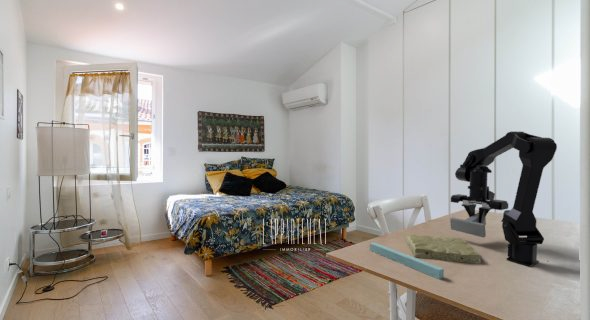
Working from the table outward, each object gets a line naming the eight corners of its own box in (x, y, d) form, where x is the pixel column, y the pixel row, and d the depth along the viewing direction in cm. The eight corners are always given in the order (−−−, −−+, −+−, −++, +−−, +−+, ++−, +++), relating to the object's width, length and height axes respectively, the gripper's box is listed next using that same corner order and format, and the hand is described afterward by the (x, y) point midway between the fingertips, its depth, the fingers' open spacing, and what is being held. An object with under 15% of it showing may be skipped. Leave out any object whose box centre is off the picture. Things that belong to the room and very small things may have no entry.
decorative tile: (405, 241, 114) (405, 232, 114) (462, 246, 110) (462, 236, 110) (414, 260, 96) (414, 249, 96) (482, 265, 91) (483, 254, 91)
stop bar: (443, 277, 82) (443, 268, 82) (439, 279, 81) (439, 270, 81) (373, 249, 104) (374, 242, 104) (369, 250, 103) (369, 243, 103)
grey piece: (499, 227, 111) (498, 215, 111) (483, 237, 106) (482, 225, 105) (467, 220, 122) (466, 210, 121) (451, 229, 116) (450, 218, 115)
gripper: (516, 185, 110) (514, 226, 110) (465, 180, 126) (464, 216, 126) (501, 187, 104) (499, 230, 105) (450, 181, 120) (449, 219, 121)
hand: (477, 223), depth 114 cm, fingers closed on grey piece, 2 cm apart
